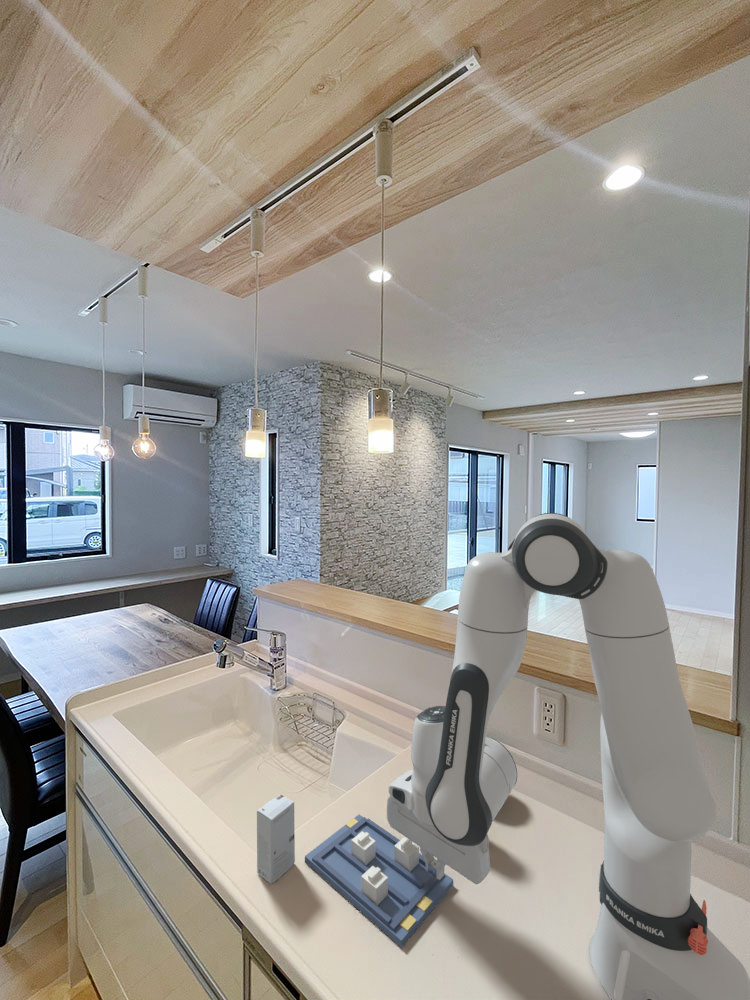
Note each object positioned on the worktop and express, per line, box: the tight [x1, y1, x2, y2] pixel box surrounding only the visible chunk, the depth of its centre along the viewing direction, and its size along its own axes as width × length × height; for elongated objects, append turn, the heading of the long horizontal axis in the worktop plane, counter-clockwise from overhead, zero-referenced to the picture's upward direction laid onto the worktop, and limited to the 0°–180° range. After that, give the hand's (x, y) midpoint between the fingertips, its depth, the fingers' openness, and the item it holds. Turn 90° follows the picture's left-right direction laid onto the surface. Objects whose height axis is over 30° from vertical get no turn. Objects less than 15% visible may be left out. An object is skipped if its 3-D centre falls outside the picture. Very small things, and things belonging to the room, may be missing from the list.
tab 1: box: [351, 831, 376, 865], centre depth 88 cm, size 4×3×4 cm
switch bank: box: [304, 813, 454, 948], centre depth 86 cm, size 24×15×2 cm, turn 48°
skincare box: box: [256, 794, 296, 885], centre depth 87 cm, size 6×4×12 cm
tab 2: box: [361, 866, 388, 906], centre depth 80 cm, size 4×3×4 cm
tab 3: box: [394, 836, 420, 872], centre depth 86 cm, size 4×3×4 cm
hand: (434, 873), depth 82 cm, fingers closed
